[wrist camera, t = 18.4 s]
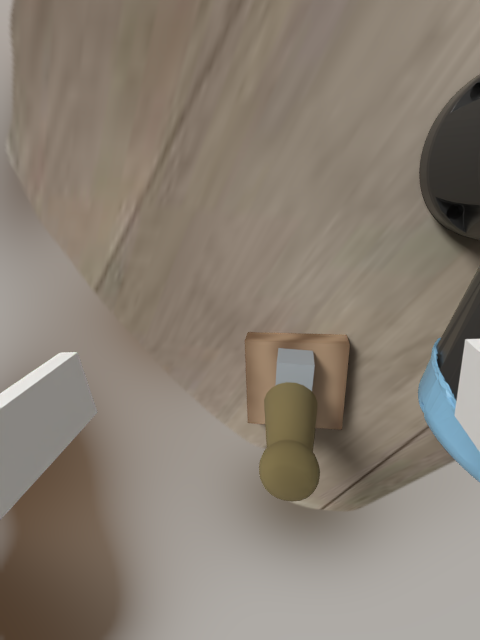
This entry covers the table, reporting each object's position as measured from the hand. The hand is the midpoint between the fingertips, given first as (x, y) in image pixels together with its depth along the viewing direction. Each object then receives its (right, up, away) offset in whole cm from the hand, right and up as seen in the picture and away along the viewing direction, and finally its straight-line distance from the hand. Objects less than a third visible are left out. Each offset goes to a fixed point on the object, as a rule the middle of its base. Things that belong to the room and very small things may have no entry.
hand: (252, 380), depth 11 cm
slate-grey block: (+6, -6, +29) cm, 30 cm away
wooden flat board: (+7, -5, +32) cm, 33 cm away
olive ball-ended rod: (+5, -7, +26) cm, 27 cm away
